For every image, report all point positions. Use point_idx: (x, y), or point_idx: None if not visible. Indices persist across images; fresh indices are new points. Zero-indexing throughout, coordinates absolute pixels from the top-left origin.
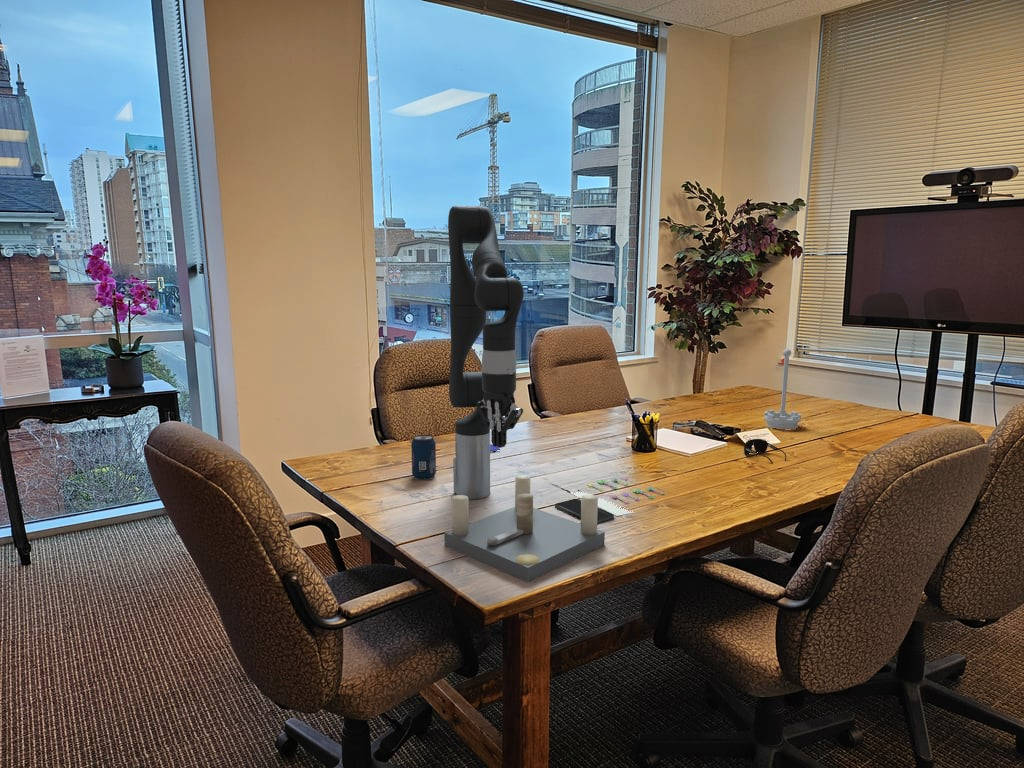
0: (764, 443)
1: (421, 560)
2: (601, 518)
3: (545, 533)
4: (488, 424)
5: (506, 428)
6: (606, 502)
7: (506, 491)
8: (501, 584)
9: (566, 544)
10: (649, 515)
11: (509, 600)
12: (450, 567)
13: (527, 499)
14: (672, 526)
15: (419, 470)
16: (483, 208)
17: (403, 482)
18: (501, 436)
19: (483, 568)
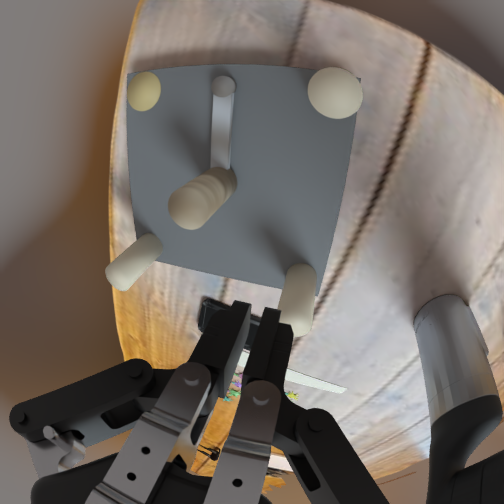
0: (212, 457)
1: (339, 10)
2: (205, 316)
3: None
4: (296, 418)
5: (121, 365)
6: (242, 363)
7: (393, 347)
8: (165, 40)
9: (140, 182)
10: (179, 345)
11: (131, 26)
12: (272, 18)
13: (170, 196)
14: (144, 326)
15: None
16: None
17: None
18: (201, 345)
19: (222, 53)
